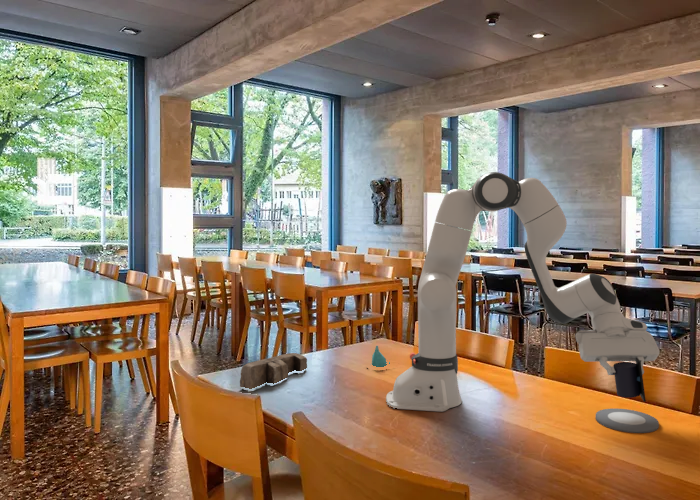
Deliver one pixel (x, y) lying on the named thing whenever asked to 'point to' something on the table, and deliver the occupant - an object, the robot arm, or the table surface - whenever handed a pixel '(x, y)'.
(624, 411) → the speaker stand
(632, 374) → the speaker
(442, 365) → the robot arm
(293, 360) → the sculpture
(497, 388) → the table surface
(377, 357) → the teal tapered piece
